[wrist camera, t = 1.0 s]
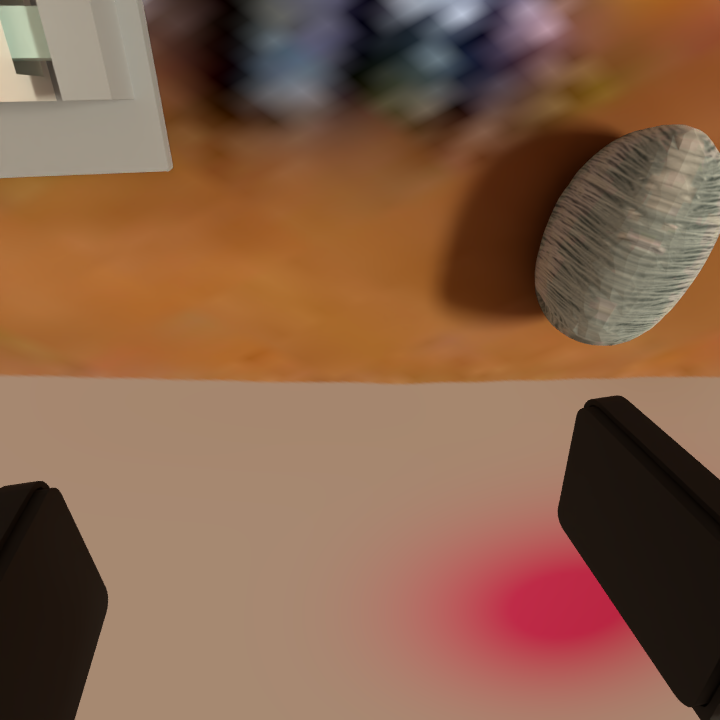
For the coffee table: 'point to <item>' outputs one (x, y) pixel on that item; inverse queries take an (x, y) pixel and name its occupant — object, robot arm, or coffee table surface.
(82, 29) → the grey support base
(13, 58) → the pale green crossbeam
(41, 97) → the sleeve
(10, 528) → the robot arm
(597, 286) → the streaked grey egg
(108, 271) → the coffee table surface
